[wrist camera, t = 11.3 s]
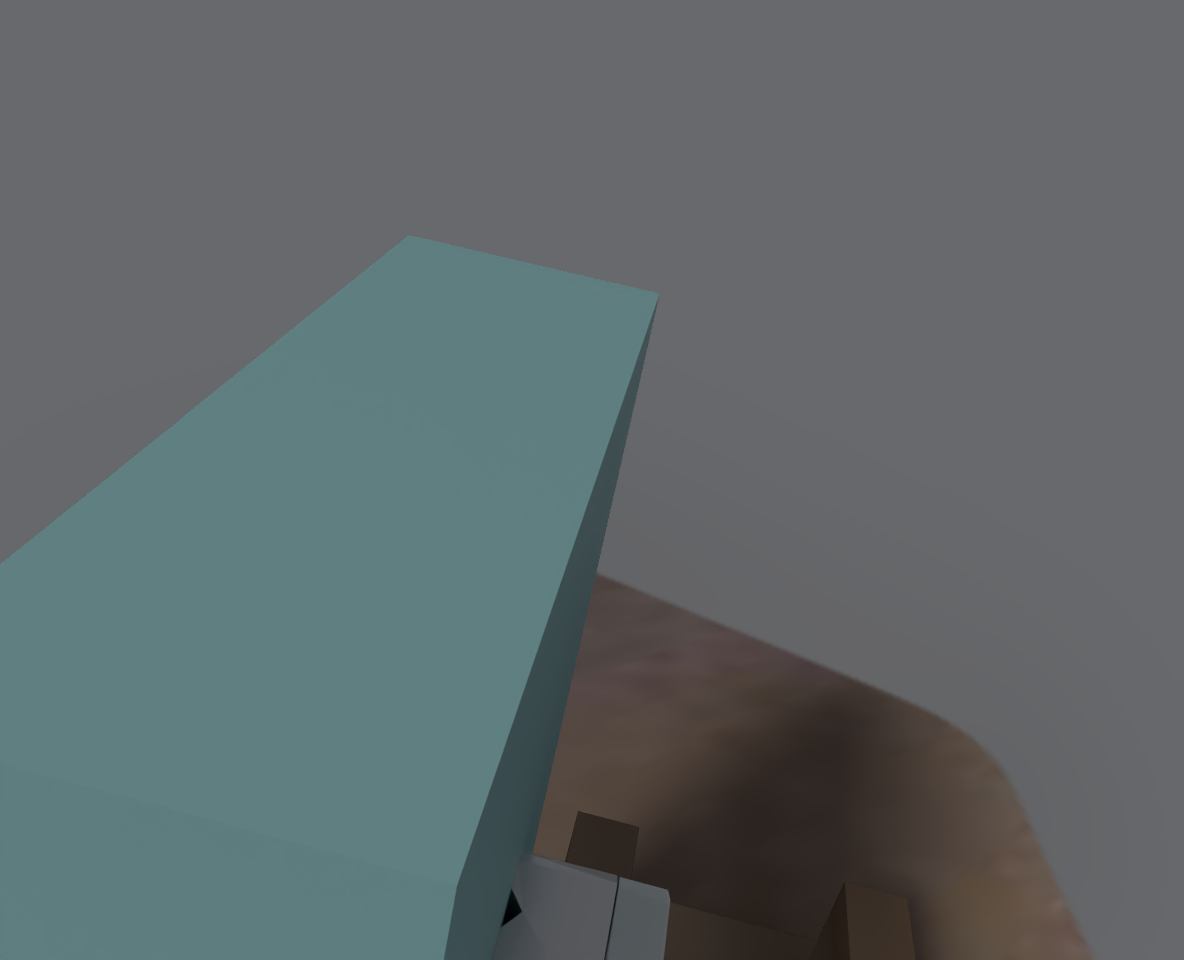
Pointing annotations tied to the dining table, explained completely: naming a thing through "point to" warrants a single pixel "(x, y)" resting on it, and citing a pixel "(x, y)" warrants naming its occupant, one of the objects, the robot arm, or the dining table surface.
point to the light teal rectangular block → (320, 631)
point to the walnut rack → (747, 951)
